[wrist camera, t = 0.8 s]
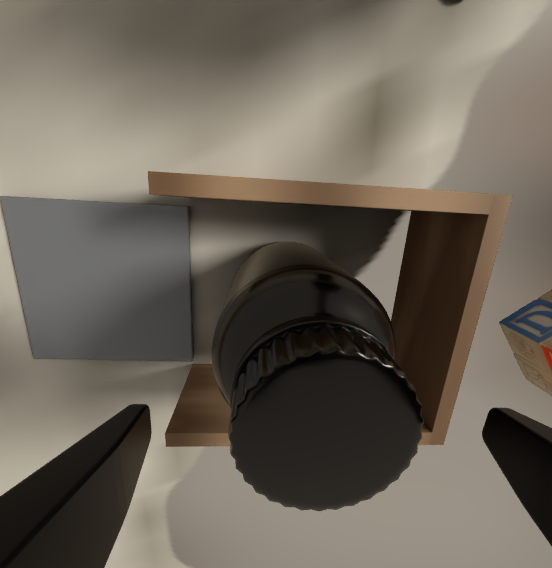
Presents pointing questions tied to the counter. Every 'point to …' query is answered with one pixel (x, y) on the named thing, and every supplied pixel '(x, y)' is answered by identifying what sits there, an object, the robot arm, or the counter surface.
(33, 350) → the mat
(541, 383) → the stack of blocks
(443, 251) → the open box
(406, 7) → the counter surface
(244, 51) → the counter surface
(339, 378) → the supplement bottle
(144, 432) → the robot arm
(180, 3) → the counter surface
